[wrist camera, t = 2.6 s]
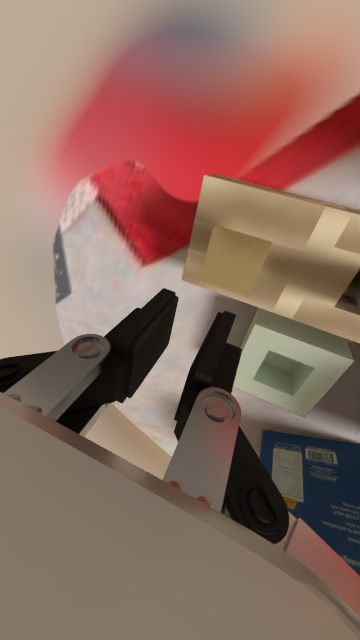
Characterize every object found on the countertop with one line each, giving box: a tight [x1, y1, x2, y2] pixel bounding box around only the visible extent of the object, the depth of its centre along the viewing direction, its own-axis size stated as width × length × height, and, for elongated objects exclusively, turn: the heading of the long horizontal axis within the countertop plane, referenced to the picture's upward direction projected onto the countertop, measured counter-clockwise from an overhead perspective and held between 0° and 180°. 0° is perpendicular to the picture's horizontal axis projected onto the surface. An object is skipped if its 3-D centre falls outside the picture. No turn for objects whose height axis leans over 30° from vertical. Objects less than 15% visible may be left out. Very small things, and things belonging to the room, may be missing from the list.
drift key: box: [200, 225, 272, 297], centre depth 21 cm, size 4×4×5 cm
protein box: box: [260, 430, 360, 576], centre depth 33 cm, size 10×15×16 cm
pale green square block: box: [233, 307, 354, 417], centre depth 29 cm, size 10×10×5 cm
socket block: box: [182, 175, 360, 343], centre depth 23 cm, size 10×22×5 cm, turn 79°
